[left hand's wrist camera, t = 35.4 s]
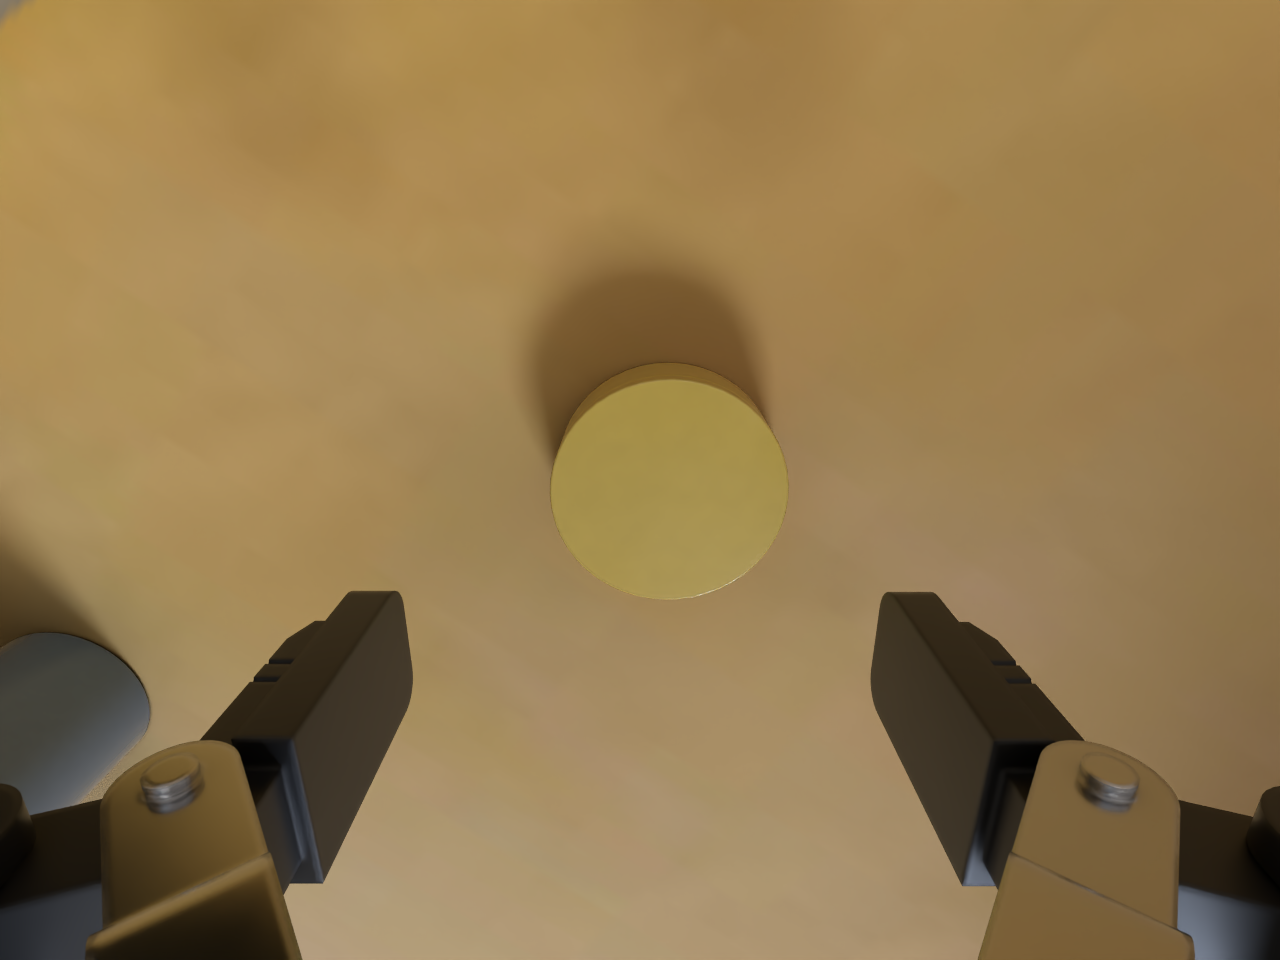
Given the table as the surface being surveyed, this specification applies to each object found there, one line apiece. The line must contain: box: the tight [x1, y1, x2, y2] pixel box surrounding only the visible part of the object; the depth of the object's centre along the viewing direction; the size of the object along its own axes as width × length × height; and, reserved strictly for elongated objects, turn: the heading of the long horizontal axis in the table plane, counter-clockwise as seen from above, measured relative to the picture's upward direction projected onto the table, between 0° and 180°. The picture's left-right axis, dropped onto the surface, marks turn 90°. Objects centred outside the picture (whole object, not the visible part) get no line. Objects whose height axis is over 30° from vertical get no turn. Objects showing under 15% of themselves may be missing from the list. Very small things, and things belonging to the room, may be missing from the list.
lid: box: [550, 363, 789, 600], centre depth 16 cm, size 5×5×2 cm
